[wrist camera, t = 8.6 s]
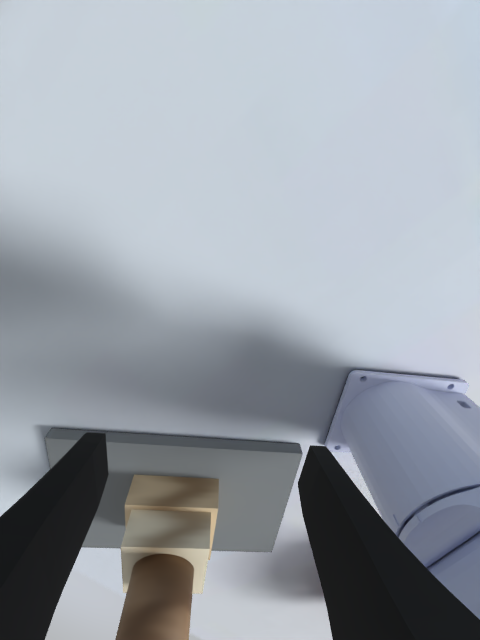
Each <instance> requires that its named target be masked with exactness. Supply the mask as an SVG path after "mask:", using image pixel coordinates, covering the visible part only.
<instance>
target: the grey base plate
mask: <svg viewBox="0 0 480 640" xmlns="http://www.w3.org/2000/svg"><path fill="white" fill-rule="evenodd" d="M87 432H91V433H106V446H107V459H108V473H109V475H108V478H107V482H106V485H105V488H104V491H103V494H102V498H101V501H100V504H99V507H98V509H97V512H96V514H95V516H94V519H93V521H92V524H91V526H90V528H89V531H88V533H87V535H86V538H85V540H84V542H83V544H82V547H90V548H121V544H122V541H123V537H124V534H125V530H126V527H125V502H126V499H127V496H128V492H129V489H130V486H131V483H132V480H133V476H134V475H152V476H172V477H192V478H212V479H219V499H218V513H217V519H216V526H215V532H214V538H213V544H212V550H211V551H244V552H272V550H273V546H274V543H275V540H276V537H277V534H278V531H279V527H280V524H281V521H282V518H283V515H284V511H285V508H286V505H287V502H288V499H289V496H290V492H291V489H292V486H293V483H294V480H295V476H296V473H297V470H298V467H299V464H300V460H301V457H302V450H301V447H300V444H291V443H276V442H260V441H244V440H229V439H213V438H198V437H182V436H167V435H151V434H135V433H120V432H104V431H89V430H73V429H57V428H52V429H51V430H50V432H49V433H48V434H47V436H46V437H45V442H46V448H47V453H48V458H49V463H50V469H51V468H52V467H53V466H54V465H55V464H56V463H57V462H58V461H59V460H60V459H61V458H62V457H63V456H64V455H65V454H66V453H67V452H68V451H69V450H70V449H71V448H72V447H73V445H74V444H75V443H76V442H77V441H78V440H79V439H80V438H81V437H82V436H83V435H84V434H85V433H87Z"/></svg>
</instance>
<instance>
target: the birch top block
mask: <svg viewBox="0 0 480 640" xmlns="http://www.w3.org/2000/svg"><path fill="white" fill-rule="evenodd" d="M210 528H211V512H187V511H161V510H135V509H132V510H131V513H130V517H129V520H128V523H127V527H126V530H125V534H124V537H123V541H122V544H121V559H122V578H123V593H127V590H128V586H129V582H130V578H131V573H132V569H133V566H134V565H135V563H136V562H137V561H139V560H140V559H142V558H144V557H146V556H149V555H154V554H172V555H177V556H180V557H182V558H185V559H186V560H188V561H189V562H190V563H191V564H192V565H193V567H194V578H193V590H192V593H193V594H202V593H203V587H204V581H205V575H206V568H207V562H208V556H209V550H210Z"/></svg>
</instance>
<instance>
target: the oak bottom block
mask: <svg viewBox="0 0 480 640" xmlns="http://www.w3.org/2000/svg"><path fill="white" fill-rule="evenodd" d="M218 499H219V479H212V478H192V477H172V476H152V475H134V476H133V480H132V483H131V486H130V489H129V492H128V496H127V499H126V502H125V527H127V523H128V520H129V517H130V513H131V510H132V509H135V510H161V511H187V512H211V528H210V550H209V556H208V560H210V556H211V550H212V544H213V538H214V532H215V526H216V519H217V513H218Z"/></svg>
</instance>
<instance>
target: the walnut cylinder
mask: <svg viewBox="0 0 480 640" xmlns="http://www.w3.org/2000/svg"><path fill="white" fill-rule="evenodd" d="M193 578H194V567H193V565H192V564H191V563H190V562H189V561H188V560H186V559H185V558H182V557H180V556H177V555H172V554H154V555H149V556H146V557H144V558H142V559H140V560H139V561H137V562H136V563H135V565H134V566H133V569H132V573H131V578H130V582H129V586H128V590H127V594H126V598H125V602H124V607H123V611H122V615H121V619H120V623H119V627H118V631H117V636H116V640H189V627H190V615H191V603H192V590H193Z"/></svg>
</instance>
